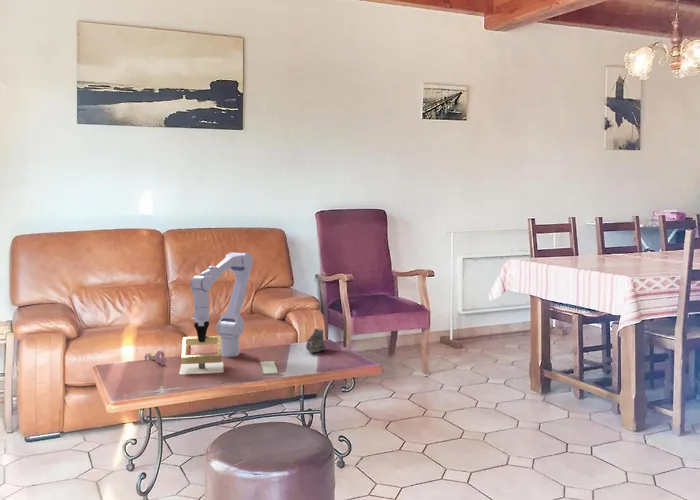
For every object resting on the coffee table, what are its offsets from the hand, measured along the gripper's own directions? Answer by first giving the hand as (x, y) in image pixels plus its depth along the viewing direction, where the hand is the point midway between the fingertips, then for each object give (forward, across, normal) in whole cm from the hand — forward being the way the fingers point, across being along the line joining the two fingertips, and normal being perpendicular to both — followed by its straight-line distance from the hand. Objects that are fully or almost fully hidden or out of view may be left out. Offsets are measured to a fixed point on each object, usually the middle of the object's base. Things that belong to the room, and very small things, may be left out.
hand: (202, 341), depth 254 cm
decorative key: (+11, -10, -19) cm, 24 cm away
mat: (+10, +6, +19) cm, 23 cm away
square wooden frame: (+3, +6, 0) cm, 6 cm away
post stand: (+10, +6, 0) cm, 12 cm away
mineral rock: (+11, -19, +47) cm, 51 cm away
